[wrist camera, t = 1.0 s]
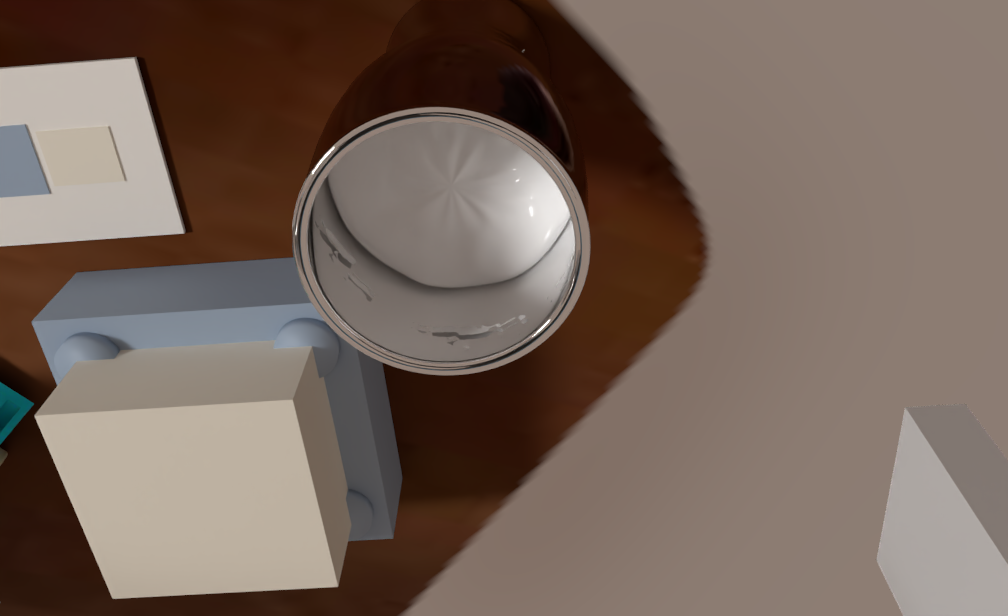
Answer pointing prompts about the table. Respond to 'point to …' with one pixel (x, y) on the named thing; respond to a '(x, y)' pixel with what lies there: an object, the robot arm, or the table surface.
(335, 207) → the beer glass
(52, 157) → the page
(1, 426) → the toy train
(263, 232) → the table surface
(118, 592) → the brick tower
